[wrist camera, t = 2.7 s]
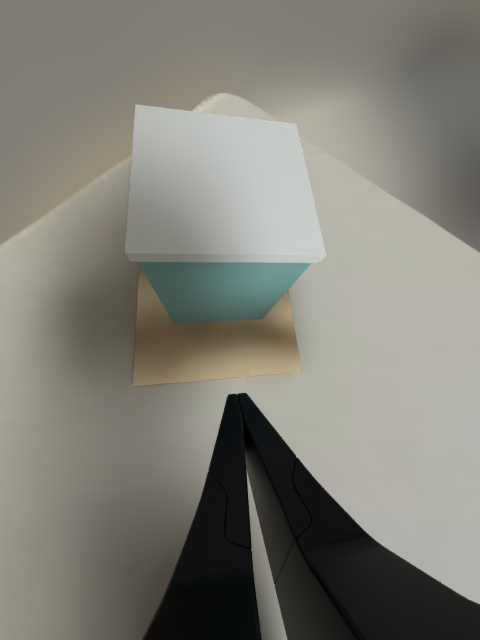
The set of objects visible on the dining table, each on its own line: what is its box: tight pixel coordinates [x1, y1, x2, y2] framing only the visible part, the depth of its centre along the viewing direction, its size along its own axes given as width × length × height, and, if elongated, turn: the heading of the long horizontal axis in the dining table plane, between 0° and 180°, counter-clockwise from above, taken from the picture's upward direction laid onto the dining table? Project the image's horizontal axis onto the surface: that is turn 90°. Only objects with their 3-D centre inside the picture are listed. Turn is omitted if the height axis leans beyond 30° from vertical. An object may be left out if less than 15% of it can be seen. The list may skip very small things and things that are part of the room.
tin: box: [125, 105, 326, 323], centre depth 15 cm, size 8×8×11 cm
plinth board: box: [133, 265, 301, 386], centre depth 19 cm, size 20×14×3 cm
